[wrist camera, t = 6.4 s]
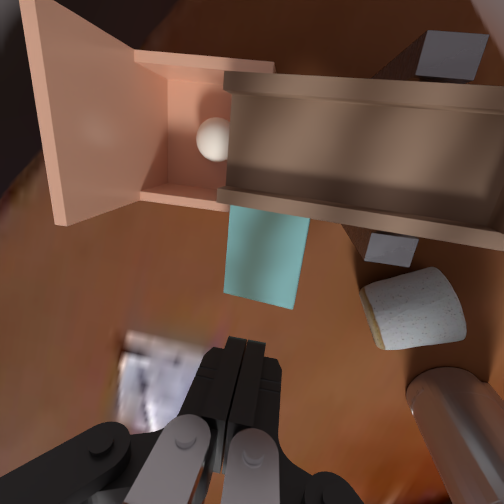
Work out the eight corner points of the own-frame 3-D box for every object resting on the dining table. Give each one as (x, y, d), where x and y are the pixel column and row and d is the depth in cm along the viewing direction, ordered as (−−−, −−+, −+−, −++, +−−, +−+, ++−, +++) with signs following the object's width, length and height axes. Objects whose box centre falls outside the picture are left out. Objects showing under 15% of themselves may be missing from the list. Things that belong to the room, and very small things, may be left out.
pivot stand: (400, 84, 26) (489, 34, 14) (364, 221, 30) (409, 267, 19) (367, 81, 26) (427, 30, 14) (336, 217, 31) (364, 260, 19)
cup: (278, 82, 27) (261, 3, 12) (263, 201, 31) (238, 251, 16) (163, 71, 28) (16, -14, 13) (164, 188, 32) (54, 224, 17)
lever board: (518, 115, 21) (659, 87, 12) (442, 299, 27) (496, 376, 18) (263, 96, 26) (221, 65, 16) (246, 258, 31) (208, 302, 22)
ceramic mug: (350, 276, 33) (366, 314, 26) (424, 254, 31) (464, 288, 24) (373, 346, 36) (394, 396, 29) (442, 330, 34) (482, 380, 27)
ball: (232, 117, 24) (189, 112, 25) (229, 165, 25) (188, 160, 26) (244, 121, 28) (206, 117, 28) (240, 163, 29) (204, 158, 30)
